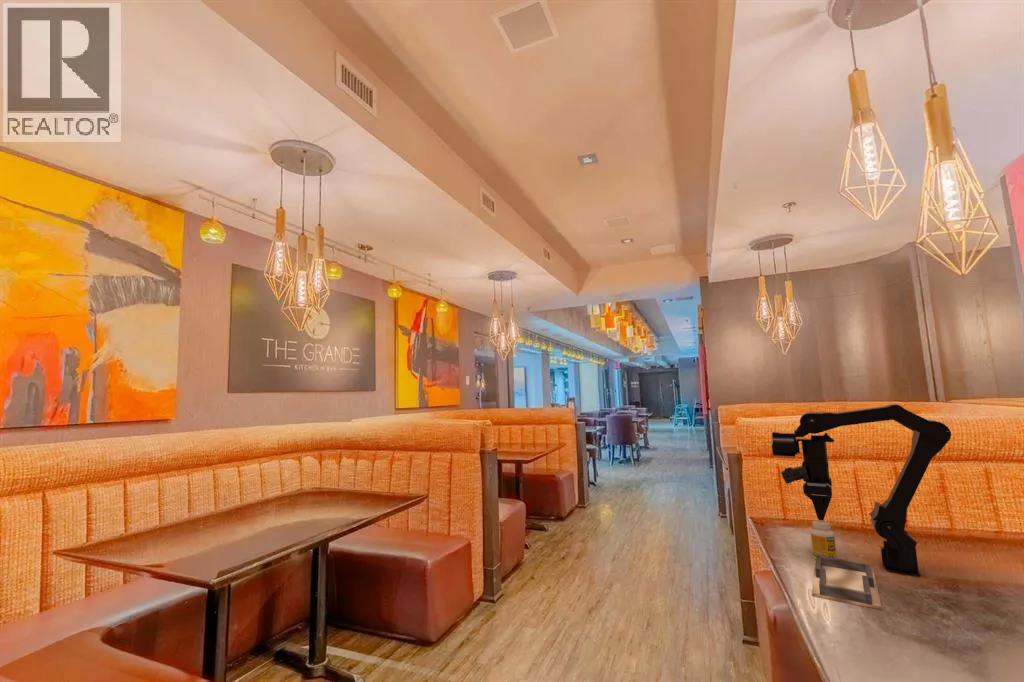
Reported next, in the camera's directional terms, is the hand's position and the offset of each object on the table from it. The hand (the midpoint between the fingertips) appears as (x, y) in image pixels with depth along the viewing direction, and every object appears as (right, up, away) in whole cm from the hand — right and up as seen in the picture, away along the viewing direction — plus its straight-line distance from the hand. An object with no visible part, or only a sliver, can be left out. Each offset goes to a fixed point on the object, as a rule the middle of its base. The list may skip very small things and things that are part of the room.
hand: (821, 516), depth 124 cm
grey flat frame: (-7, -9, -18) cm, 21 cm away
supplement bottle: (0, -11, -1) cm, 11 cm away
